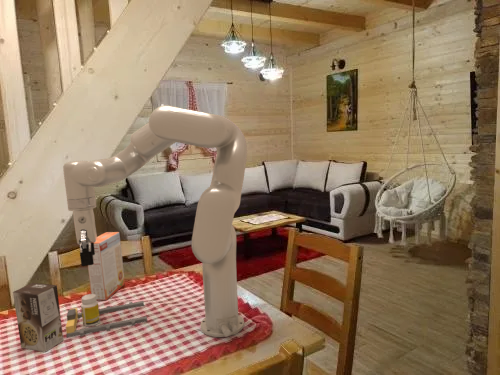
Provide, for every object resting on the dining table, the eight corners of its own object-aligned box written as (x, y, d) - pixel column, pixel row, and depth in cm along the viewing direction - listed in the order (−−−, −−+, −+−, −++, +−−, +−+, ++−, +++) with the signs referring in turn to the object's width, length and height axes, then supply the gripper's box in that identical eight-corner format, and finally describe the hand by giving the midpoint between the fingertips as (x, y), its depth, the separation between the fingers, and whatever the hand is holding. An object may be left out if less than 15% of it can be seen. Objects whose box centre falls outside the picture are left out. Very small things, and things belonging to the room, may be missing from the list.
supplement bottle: (103, 320, 113) (100, 294, 112) (91, 328, 109) (88, 301, 108) (92, 317, 115) (89, 292, 114) (79, 325, 111) (76, 298, 110)
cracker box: (110, 284, 141) (105, 231, 138) (125, 284, 140) (120, 231, 138) (90, 300, 128) (84, 242, 125) (106, 301, 127) (100, 242, 124)
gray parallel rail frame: (147, 322, 110) (147, 319, 110) (66, 339, 103) (66, 336, 103) (143, 302, 124) (143, 299, 124) (71, 316, 117) (71, 313, 117)
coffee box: (64, 340, 103) (58, 284, 101) (45, 353, 97) (37, 294, 95) (39, 335, 106) (33, 281, 104) (19, 347, 100) (11, 291, 98)
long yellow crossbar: (74, 335, 105) (73, 320, 104) (66, 336, 104) (65, 322, 104) (78, 316, 116) (76, 303, 115) (71, 318, 115) (69, 304, 115)
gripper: (94, 206, 100) (101, 267, 103) (96, 198, 116) (102, 250, 119) (64, 210, 98) (71, 271, 100) (70, 200, 114) (77, 254, 116)
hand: (88, 260), depth 109 cm, fingers open, 9 cm apart
